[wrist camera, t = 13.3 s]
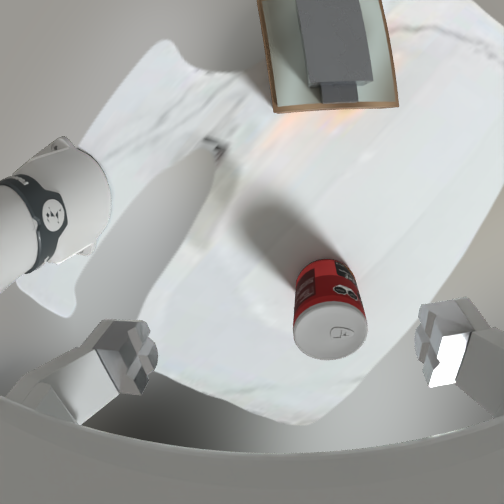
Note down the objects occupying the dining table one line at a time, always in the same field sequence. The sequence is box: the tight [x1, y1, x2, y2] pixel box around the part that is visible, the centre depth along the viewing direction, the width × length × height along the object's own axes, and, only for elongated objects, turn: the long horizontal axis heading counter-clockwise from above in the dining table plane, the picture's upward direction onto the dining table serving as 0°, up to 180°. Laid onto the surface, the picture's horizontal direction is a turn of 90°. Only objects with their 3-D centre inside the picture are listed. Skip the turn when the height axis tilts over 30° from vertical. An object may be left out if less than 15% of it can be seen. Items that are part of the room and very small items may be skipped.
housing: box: [295, 0, 373, 104], centre depth 21 cm, size 10×5×4 cm, turn 7°
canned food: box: [293, 259, 368, 360], centre depth 36 cm, size 8×8×11 cm
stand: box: [257, 0, 399, 114], centre depth 26 cm, size 12×12×8 cm
